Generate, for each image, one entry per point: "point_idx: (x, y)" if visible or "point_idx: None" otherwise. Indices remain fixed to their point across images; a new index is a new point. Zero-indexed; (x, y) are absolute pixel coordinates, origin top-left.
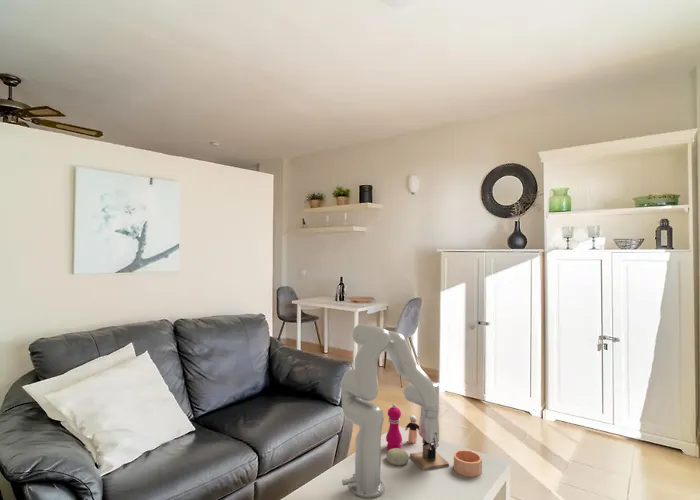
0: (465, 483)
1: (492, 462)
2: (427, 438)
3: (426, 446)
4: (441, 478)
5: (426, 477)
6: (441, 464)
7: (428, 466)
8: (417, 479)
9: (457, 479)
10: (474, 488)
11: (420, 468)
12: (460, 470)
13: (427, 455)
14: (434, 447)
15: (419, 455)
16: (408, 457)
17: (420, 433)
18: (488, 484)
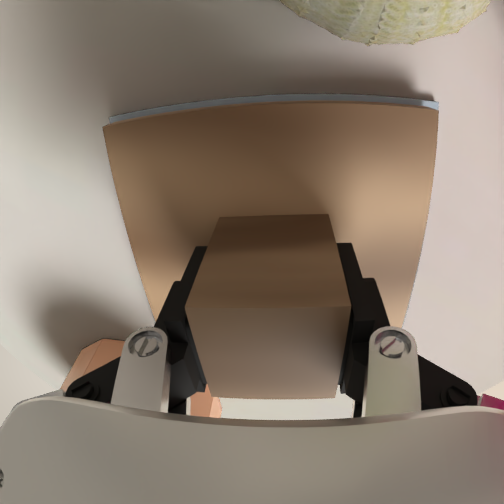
0: (27, 318)
1: None
2: (25, 467)
3: (279, 333)
4: (39, 228)
5: (41, 126)
6: (153, 308)
7: (117, 190)
8: (24, 51)
9: (48, 306)
10: (6, 326)
11: (153, 109)
12: (83, 361)
13: (205, 255)
14: (70, 389)
15: (368, 194)
16: (326, 25)
17: (447, 474)
18: (48, 381)
